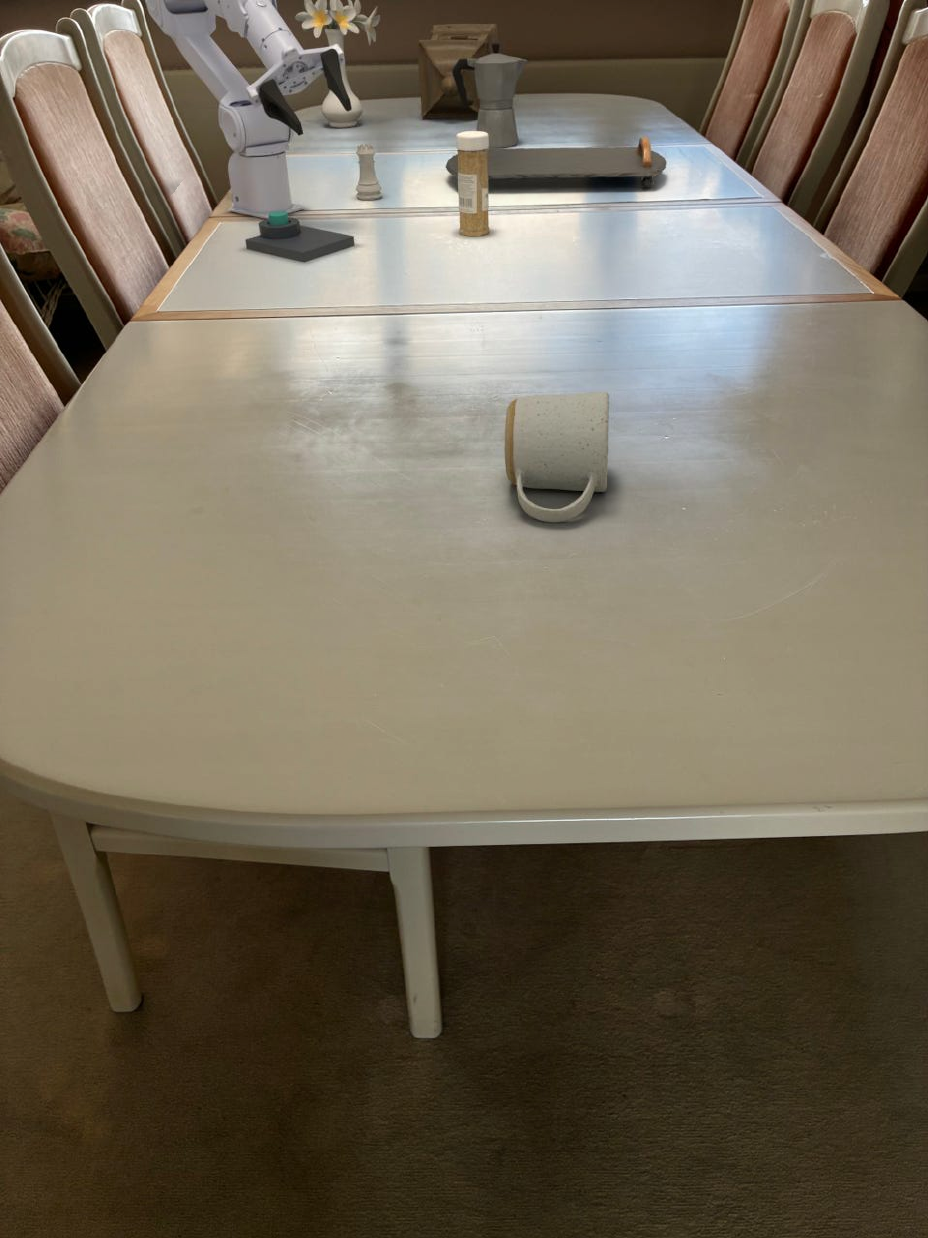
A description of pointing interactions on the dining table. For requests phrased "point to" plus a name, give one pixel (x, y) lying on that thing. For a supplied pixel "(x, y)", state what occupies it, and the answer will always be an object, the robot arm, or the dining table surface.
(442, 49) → the ornamental box
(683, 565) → the dining table surface
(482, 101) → the coffeepot
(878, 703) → the dining table surface
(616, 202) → the dining table surface
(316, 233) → the dark grey flat block
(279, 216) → the button
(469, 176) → the sprinkles bottle
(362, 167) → the rook chess piece
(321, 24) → the flower vase
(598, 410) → the ceramic mug
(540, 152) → the serving tray
